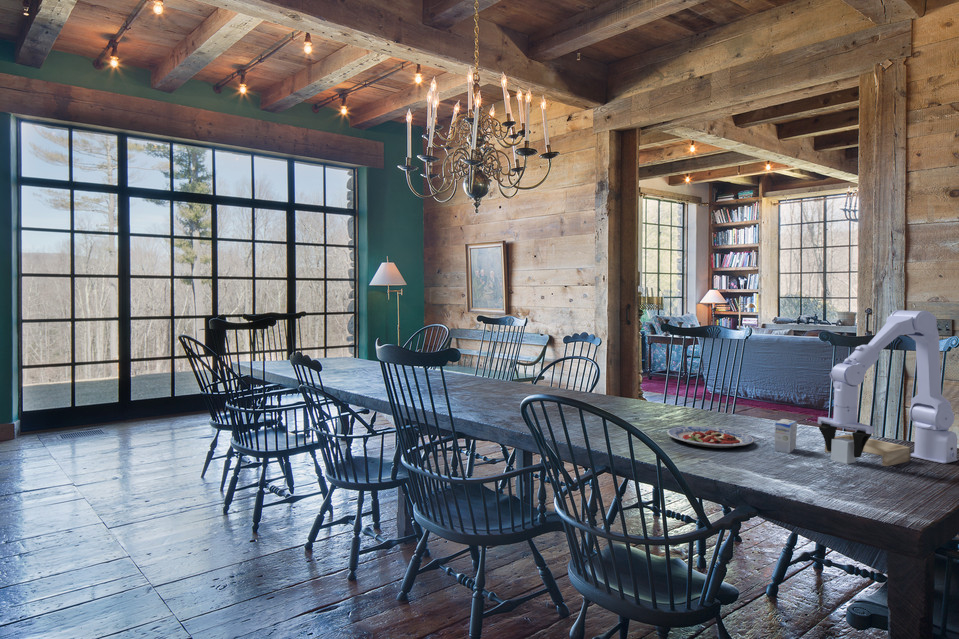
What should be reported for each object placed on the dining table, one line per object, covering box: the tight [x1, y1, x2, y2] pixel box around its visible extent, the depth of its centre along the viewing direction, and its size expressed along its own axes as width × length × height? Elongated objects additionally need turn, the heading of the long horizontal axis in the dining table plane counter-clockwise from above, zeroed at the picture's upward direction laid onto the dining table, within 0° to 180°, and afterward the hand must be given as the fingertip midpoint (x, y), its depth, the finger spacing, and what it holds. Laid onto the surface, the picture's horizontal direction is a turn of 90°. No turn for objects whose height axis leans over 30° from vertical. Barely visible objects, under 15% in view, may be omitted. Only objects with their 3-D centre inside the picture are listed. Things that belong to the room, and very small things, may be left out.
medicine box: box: [773, 418, 798, 454], centre depth 184 cm, size 8×4×9 cm, turn 141°
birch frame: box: [824, 433, 912, 467], centre depth 178 cm, size 17×12×4 cm
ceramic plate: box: [666, 425, 755, 449], centre depth 194 cm, size 26×26×3 cm
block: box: [830, 438, 857, 465], centre depth 172 cm, size 4×4×6 cm
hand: (843, 453), depth 172 cm, fingers open, 7 cm apart
